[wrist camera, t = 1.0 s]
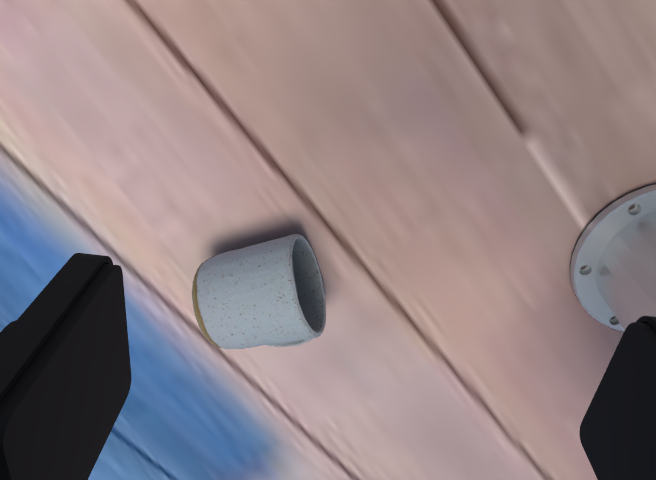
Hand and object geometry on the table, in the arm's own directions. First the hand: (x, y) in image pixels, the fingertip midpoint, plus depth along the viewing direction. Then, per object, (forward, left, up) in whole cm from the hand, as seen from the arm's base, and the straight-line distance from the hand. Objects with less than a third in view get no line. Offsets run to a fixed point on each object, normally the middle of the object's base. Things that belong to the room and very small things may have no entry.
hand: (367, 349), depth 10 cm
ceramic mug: (+8, +17, -29) cm, 35 cm away
